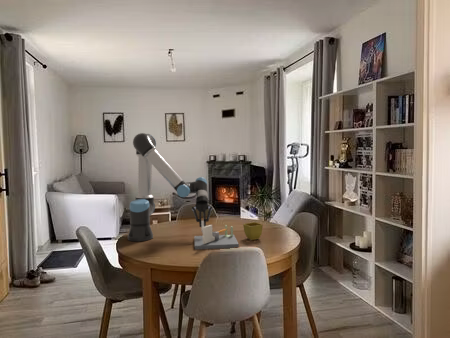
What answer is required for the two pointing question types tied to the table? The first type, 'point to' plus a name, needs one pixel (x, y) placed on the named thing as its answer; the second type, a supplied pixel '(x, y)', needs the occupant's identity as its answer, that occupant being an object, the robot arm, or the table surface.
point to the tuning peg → (210, 234)
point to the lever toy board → (217, 241)
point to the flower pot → (253, 230)
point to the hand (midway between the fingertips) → (202, 231)
